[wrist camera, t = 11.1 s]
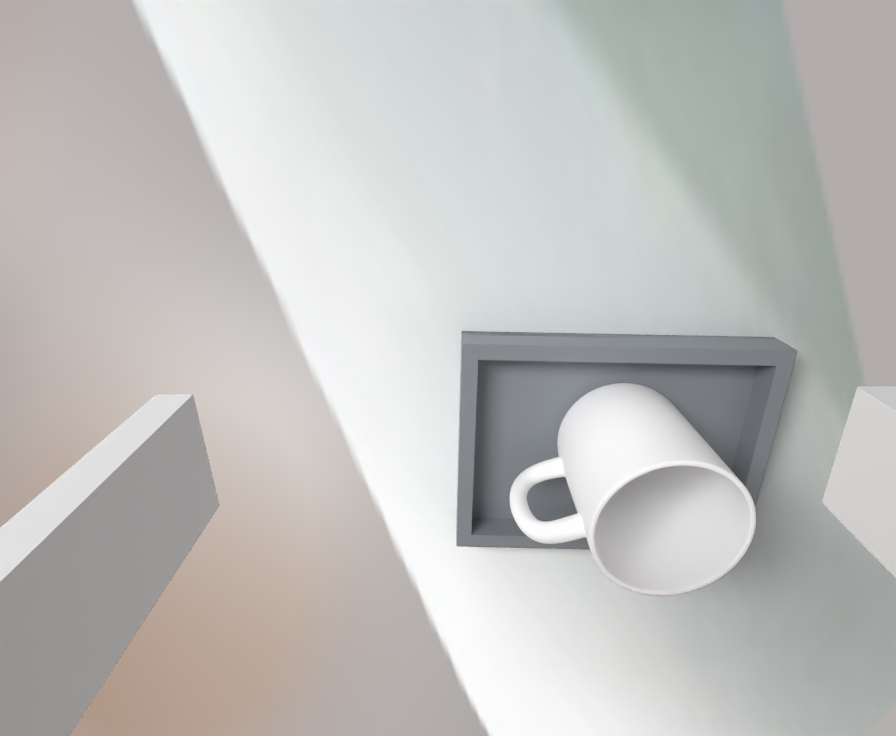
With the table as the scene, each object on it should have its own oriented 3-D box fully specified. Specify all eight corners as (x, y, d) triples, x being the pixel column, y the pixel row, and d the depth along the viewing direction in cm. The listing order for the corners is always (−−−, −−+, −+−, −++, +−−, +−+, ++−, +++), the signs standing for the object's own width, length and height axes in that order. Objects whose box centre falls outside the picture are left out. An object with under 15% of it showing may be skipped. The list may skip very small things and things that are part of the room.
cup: (684, 472, 37) (761, 579, 28) (516, 509, 39) (535, 622, 29) (670, 365, 35) (751, 444, 25) (489, 408, 36) (501, 498, 26)
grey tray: (461, 331, 35) (462, 343, 32) (774, 337, 34) (797, 350, 32) (456, 523, 40) (456, 546, 38) (725, 529, 40) (742, 552, 38)
